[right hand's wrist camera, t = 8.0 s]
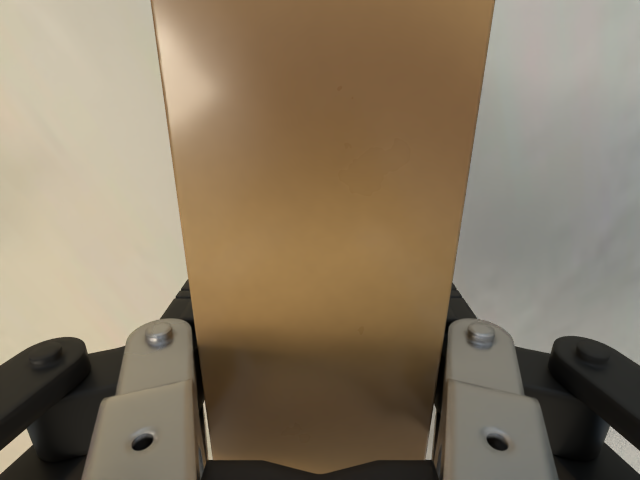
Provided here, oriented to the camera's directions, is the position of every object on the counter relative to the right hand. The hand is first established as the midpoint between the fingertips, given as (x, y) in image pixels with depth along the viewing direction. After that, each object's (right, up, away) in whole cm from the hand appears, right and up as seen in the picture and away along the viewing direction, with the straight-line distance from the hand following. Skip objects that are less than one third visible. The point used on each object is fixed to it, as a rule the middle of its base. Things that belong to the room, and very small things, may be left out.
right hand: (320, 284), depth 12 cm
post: (0, -24, +13) cm, 27 cm away
